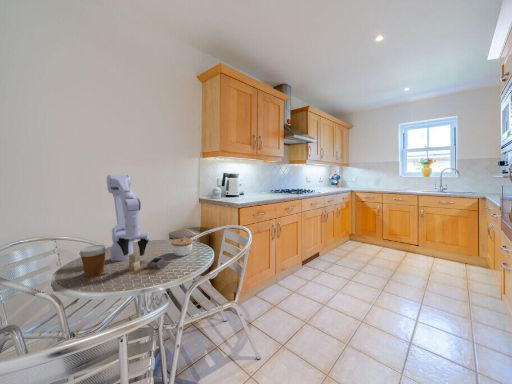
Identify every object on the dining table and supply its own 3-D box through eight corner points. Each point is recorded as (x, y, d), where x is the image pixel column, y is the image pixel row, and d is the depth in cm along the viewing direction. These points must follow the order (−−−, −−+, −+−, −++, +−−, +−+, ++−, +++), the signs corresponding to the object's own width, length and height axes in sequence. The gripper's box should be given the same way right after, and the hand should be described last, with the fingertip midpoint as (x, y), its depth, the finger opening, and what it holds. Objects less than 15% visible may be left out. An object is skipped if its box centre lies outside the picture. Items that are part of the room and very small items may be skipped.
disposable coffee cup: (94, 281, 89) (92, 252, 88) (75, 279, 90) (73, 251, 89) (113, 270, 98) (111, 245, 97) (95, 269, 100) (93, 244, 99)
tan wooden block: (129, 270, 96) (128, 255, 96) (135, 266, 100) (134, 252, 100) (134, 270, 96) (133, 255, 96) (139, 267, 100) (139, 252, 99)
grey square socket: (144, 268, 98) (144, 263, 98) (153, 262, 105) (153, 257, 105) (159, 269, 98) (159, 263, 98) (167, 262, 105) (166, 257, 105)
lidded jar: (186, 259, 111) (185, 241, 110) (167, 258, 113) (167, 240, 112) (196, 252, 121) (195, 235, 120) (179, 251, 123) (178, 235, 123)
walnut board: (116, 275, 94) (116, 273, 94) (136, 262, 108) (136, 260, 107) (156, 276, 92) (156, 274, 92) (171, 263, 106) (171, 261, 106)
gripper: (110, 227, 93) (112, 257, 94) (142, 227, 92) (144, 258, 93) (121, 223, 100) (123, 252, 101) (151, 224, 99) (153, 252, 100)
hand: (134, 254), depth 98 cm, fingers open, 7 cm apart
